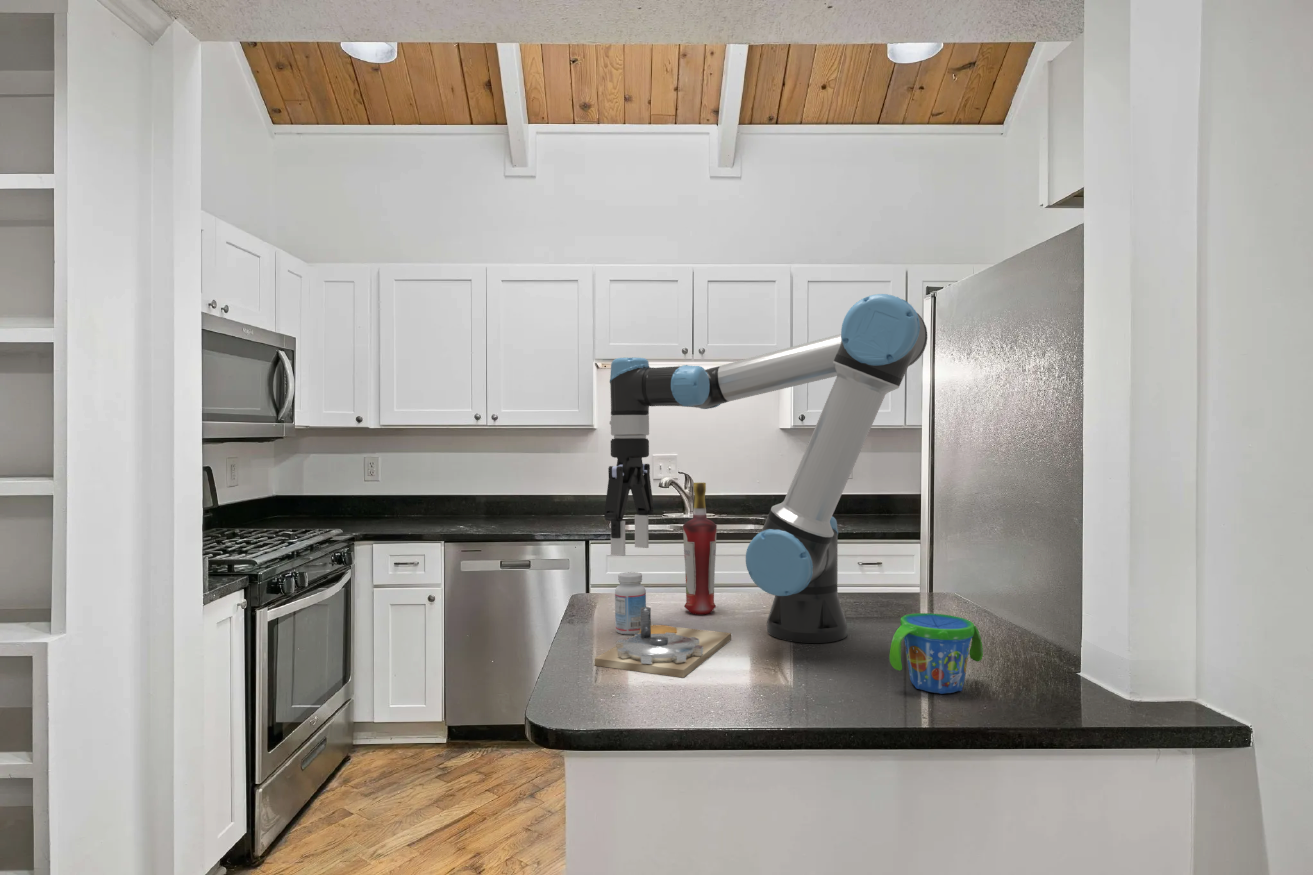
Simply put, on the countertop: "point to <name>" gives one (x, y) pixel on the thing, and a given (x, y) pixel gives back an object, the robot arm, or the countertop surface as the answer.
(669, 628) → the seat pad
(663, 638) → the sprocket disc
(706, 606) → the liquor
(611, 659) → the board
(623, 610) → the pill bottle
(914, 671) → the snack cup
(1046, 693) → the countertop surface
